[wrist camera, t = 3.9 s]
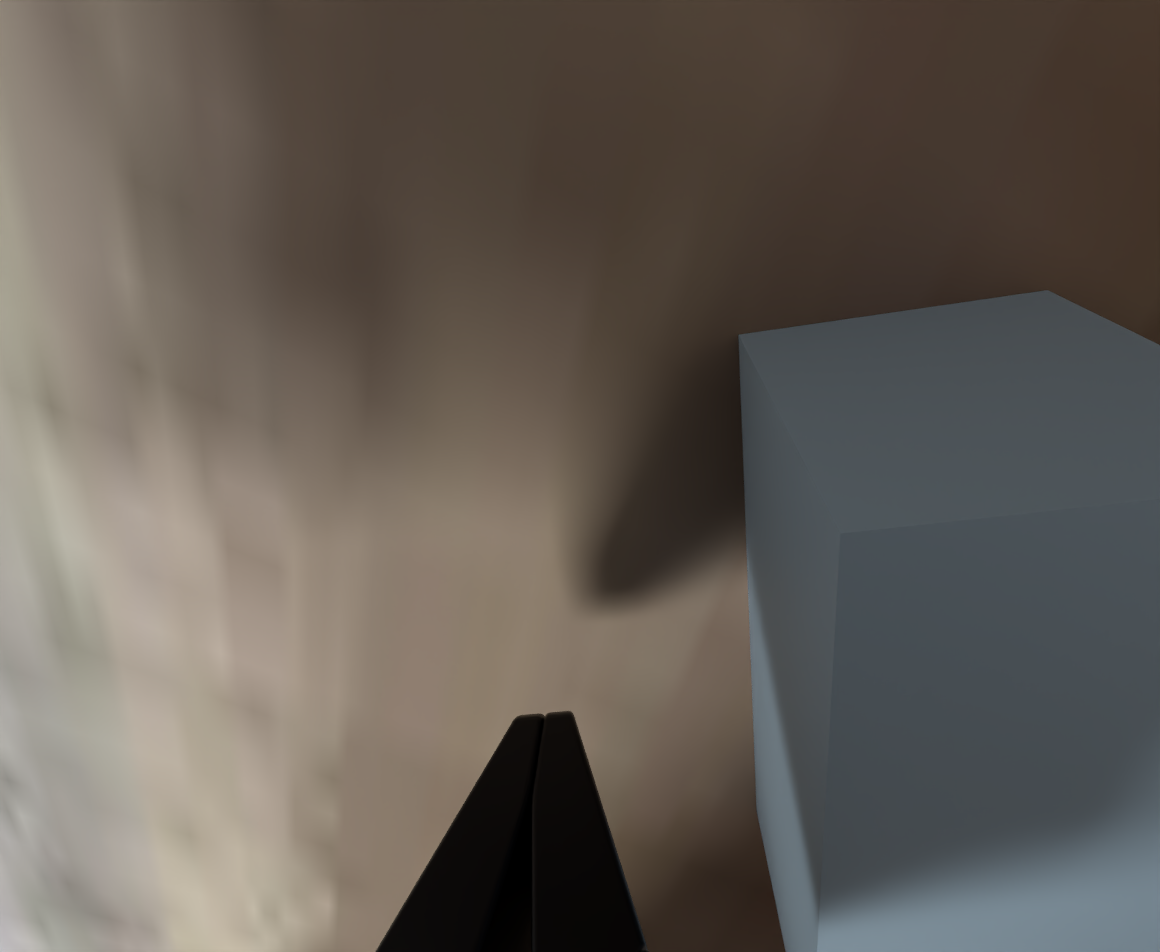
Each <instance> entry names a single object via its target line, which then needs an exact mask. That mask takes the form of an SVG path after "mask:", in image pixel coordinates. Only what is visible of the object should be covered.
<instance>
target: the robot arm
mask: <svg viewBox="0 0 1160 952" xmlns="http://www.w3.org/2000/svg"><path fill="white" fill-rule="evenodd" d="M376 952H648V950H647V946H646V942H645V939H644V936H643V933H642V929H641V926H640V923H639V920H638V917H637V914H636V910H635V907H634V904H633V901H632V898H631V895H630V891H629V888H628V885H627V882H626V879H625V876H624V872H623V869H622V866H621V863H620V860H619V857H618V853H617V850H616V847H615V844H614V841H613V838H612V834H611V831H610V828H609V825H608V822H607V819H606V815H605V812H604V809H603V806H602V803H601V800H600V796H599V793H598V790H597V787H596V784H595V781H594V777H593V774H592V771H591V768H590V765H589V762H588V759H587V755H586V752H585V749H584V746H583V743H582V740H581V736H580V733H579V730H578V727H577V724H576V721H575V717H574V715H573V713H572V712H571V711H563V712H551V713H548V714H546V716H544V715H543V714H529V715H520V716H518V717H516V718H515V719H514V720H513V722H512V724H511V725H510V727H509V729H508V730H507V732H506V734H505V735H504V737H503V739H502V740H501V742H500V744H499V745H498V747H497V749H496V751H495V752H494V754H493V756H492V757H491V759H490V761H489V762H488V764H487V766H486V767H485V769H484V771H483V772H482V774H481V776H480V777H479V779H478V781H477V782H476V784H475V786H474V787H473V789H472V791H471V792H470V794H469V796H468V797H467V799H466V801H465V802H464V804H463V806H462V808H461V809H460V811H459V813H458V814H457V816H456V818H455V819H454V821H453V823H452V824H451V826H450V828H449V829H448V831H447V833H446V834H445V836H444V838H443V839H442V841H441V843H440V844H439V846H438V848H437V849H436V851H435V853H434V854H433V856H432V858H431V859H430V861H429V863H428V865H427V866H426V868H425V870H424V871H423V873H422V875H421V876H420V878H419V880H418V881H417V883H416V885H415V886H414V888H413V890H412V891H411V893H410V895H409V896H408V898H407V900H406V901H405V903H404V905H403V906H402V908H401V910H400V911H399V913H398V915H397V916H396V918H395V920H394V922H393V923H392V925H391V927H390V928H389V930H388V932H387V933H386V935H385V937H384V938H383V940H382V942H381V943H380V945H379V947H378V948H377V950H376Z"/></svg>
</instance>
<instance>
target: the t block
mask: <svg viewBox="0 0 1160 952" xmlns="http://www.w3.org/2000/svg"><path fill="white" fill-rule="evenodd" d="M738 337H739V363H740V389H741V415H742V441H743V467H744V493H745V519H746V546H747V572H748V598H749V624H750V650H751V676H752V702H753V728H754V754H755V780H756V807H757V815H758V820H759V825H760V830H761V834H762V839H763V844H764V849H765V854H766V859H767V863H768V868H769V873H770V878H771V883H772V888H773V892H774V897H775V902H776V907H777V912H778V917H779V922H780V926H781V931H782V936H783V941H784V946H785V951H786V952H1160V345H1159V344H1157V343H1155V342H1153V341H1151V340H1148V339H1146V338H1144V337H1142V336H1140V335H1138V334H1136V333H1134V332H1132V331H1130V330H1128V329H1126V328H1124V327H1122V326H1120V325H1118V324H1116V323H1114V322H1112V321H1110V320H1108V319H1106V318H1104V317H1102V316H1099V315H1097V314H1095V313H1093V312H1091V311H1089V310H1087V309H1085V308H1083V307H1081V306H1079V305H1077V304H1075V303H1073V302H1071V301H1069V300H1067V299H1065V298H1063V297H1061V296H1059V295H1057V294H1055V293H1052V292H1050V291H1048V290H1045V291H1038V292H1031V293H1024V294H1017V295H1010V296H1003V297H996V298H990V299H983V300H976V301H969V302H962V303H955V304H948V305H941V306H934V307H927V308H920V309H913V310H906V311H899V312H892V313H885V314H878V315H872V316H865V317H858V318H851V319H844V320H837V321H830V322H823V323H816V324H809V325H802V326H795V327H788V328H781V329H774V330H767V331H760V332H754V333H747V334H740V335H738Z"/></svg>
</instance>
